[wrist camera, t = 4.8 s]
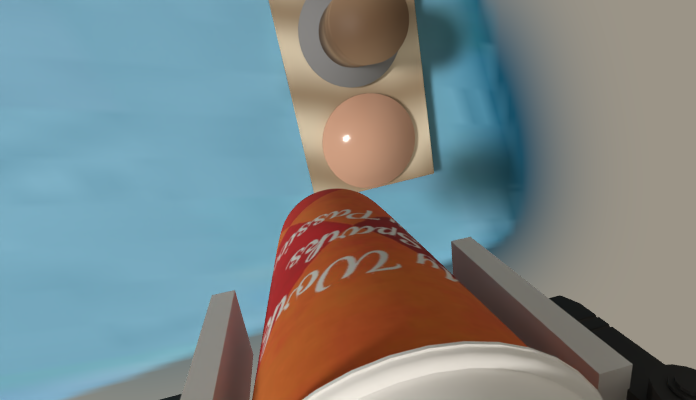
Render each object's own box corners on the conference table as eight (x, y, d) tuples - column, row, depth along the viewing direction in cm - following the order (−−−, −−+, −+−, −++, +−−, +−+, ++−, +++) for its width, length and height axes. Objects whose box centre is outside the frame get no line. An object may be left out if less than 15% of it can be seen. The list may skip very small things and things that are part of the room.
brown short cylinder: (312, 2, 27) (321, -19, 21) (377, -10, 27) (403, -33, 22) (326, 73, 28) (338, 71, 23) (387, 60, 29) (413, 55, 23)
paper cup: (405, 157, 18) (742, 362, 5) (409, 292, 20) (639, 673, 7) (243, 176, 17) (105, 504, 4) (267, 316, 19) (236, 813, 6)
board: (265, -11, 27) (265, -15, 26) (404, -35, 29) (409, -40, 28) (315, 198, 33) (316, 202, 32) (428, 170, 34) (433, 173, 33)
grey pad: (286, -16, 27) (286, -17, 26) (391, -34, 28) (393, -36, 27) (311, 96, 29) (311, 96, 29) (405, 76, 30) (407, 76, 30)
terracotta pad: (312, 104, 29) (313, 104, 29) (406, 84, 30) (408, 84, 30) (332, 196, 32) (333, 197, 32) (418, 175, 33) (420, 176, 33)
